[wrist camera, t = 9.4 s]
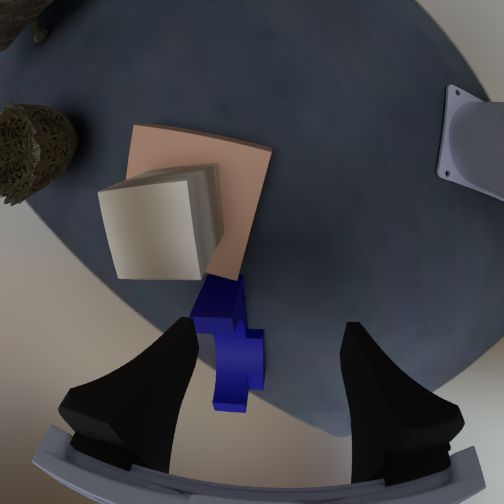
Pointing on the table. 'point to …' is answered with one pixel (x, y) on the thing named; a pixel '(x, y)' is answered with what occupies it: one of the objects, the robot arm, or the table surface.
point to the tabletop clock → (20, 19)
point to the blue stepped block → (230, 342)
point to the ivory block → (164, 222)
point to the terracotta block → (230, 177)
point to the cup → (33, 149)
